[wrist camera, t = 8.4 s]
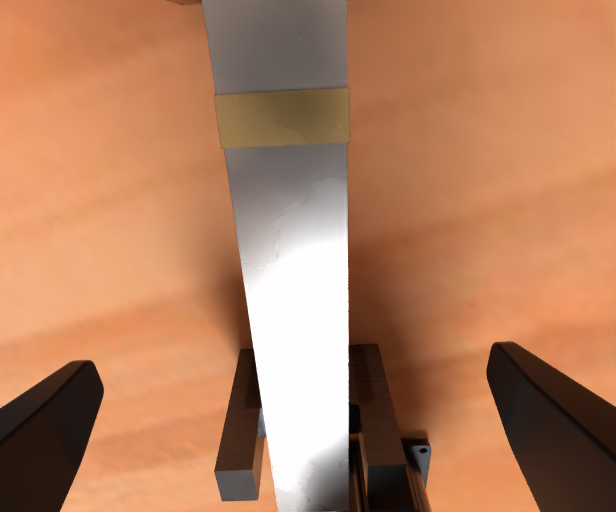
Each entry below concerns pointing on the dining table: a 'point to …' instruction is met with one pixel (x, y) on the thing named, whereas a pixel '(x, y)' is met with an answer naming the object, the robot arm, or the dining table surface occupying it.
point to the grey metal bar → (291, 226)
